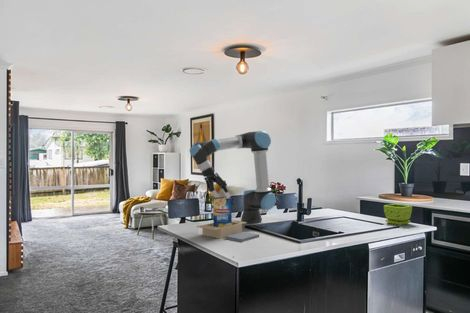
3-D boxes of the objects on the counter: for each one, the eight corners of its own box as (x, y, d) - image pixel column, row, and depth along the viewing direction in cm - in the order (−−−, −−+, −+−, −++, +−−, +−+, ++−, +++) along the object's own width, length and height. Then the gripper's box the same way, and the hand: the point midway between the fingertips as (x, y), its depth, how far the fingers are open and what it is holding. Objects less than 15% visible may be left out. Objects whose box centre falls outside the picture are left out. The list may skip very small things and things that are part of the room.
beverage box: (231, 235, 212) (231, 198, 212) (213, 235, 211) (213, 198, 211) (231, 232, 219) (230, 197, 219) (213, 233, 218) (213, 197, 218)
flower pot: (394, 221, 257) (394, 203, 257) (413, 224, 245) (413, 205, 245) (382, 223, 250) (382, 205, 250) (401, 226, 238) (400, 207, 238)
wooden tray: (229, 228, 231) (229, 219, 231) (246, 231, 221) (246, 222, 221) (196, 236, 209) (196, 226, 209) (214, 240, 199) (214, 229, 199)
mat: (243, 234, 215) (243, 231, 215) (259, 237, 207) (259, 234, 207) (225, 238, 202) (225, 236, 202) (241, 242, 195) (241, 239, 195)
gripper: (193, 174, 223) (210, 203, 225) (210, 167, 203) (229, 199, 204) (202, 169, 228) (218, 197, 229) (220, 161, 207) (238, 192, 208)
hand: (223, 198), depth 217 cm, fingers open, 13 cm apart
